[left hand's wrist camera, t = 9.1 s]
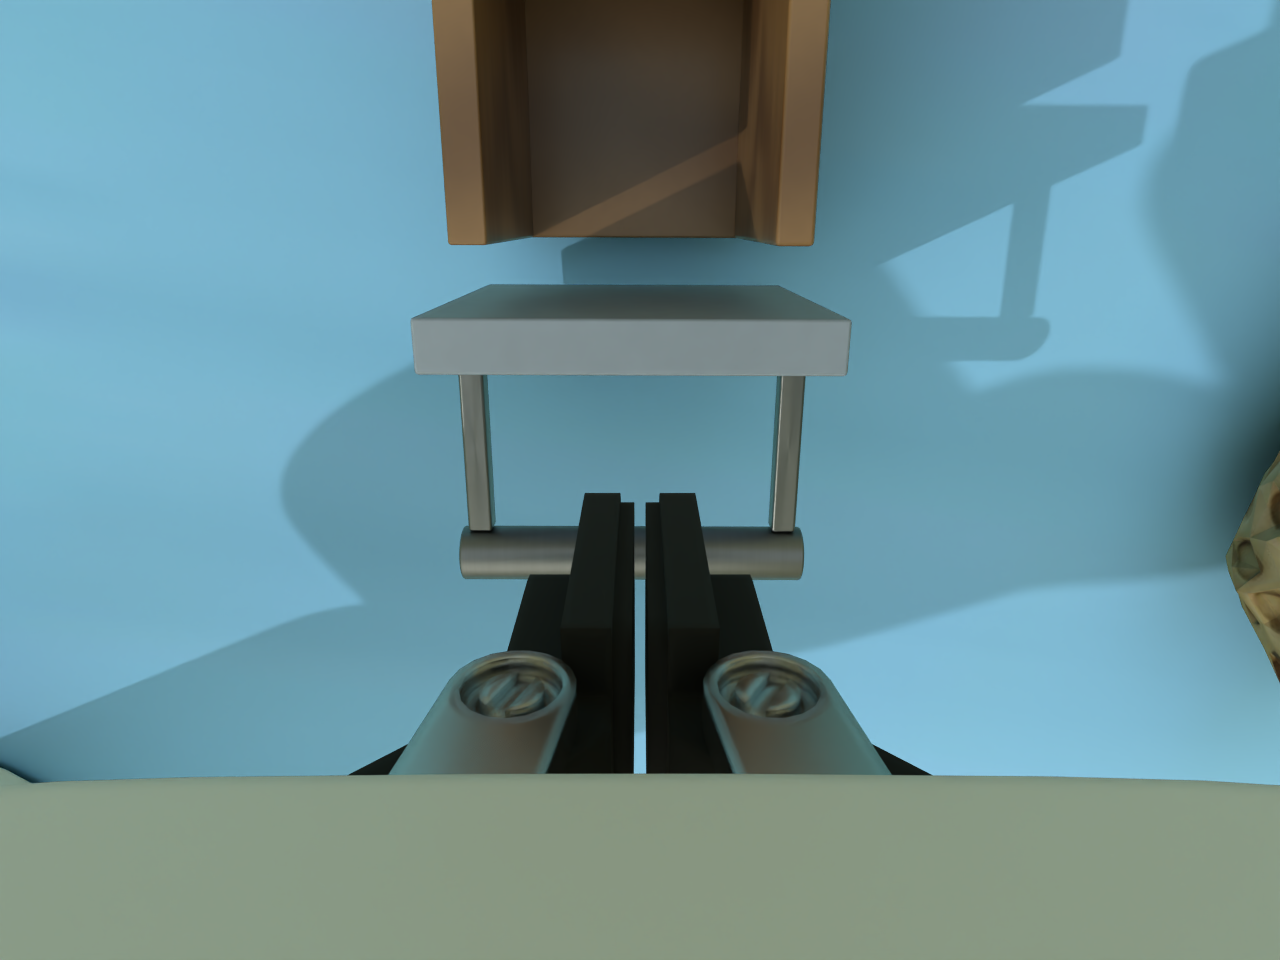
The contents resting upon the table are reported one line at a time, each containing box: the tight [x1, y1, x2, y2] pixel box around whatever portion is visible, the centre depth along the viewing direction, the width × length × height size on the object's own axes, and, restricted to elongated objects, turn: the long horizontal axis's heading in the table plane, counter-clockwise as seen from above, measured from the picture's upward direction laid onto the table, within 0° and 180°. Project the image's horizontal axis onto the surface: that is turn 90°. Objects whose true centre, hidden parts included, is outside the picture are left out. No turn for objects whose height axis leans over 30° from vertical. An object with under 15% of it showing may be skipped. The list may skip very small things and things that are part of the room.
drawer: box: [411, 0, 852, 580], centre depth 19 cm, size 24×9×9 cm, turn 0°
